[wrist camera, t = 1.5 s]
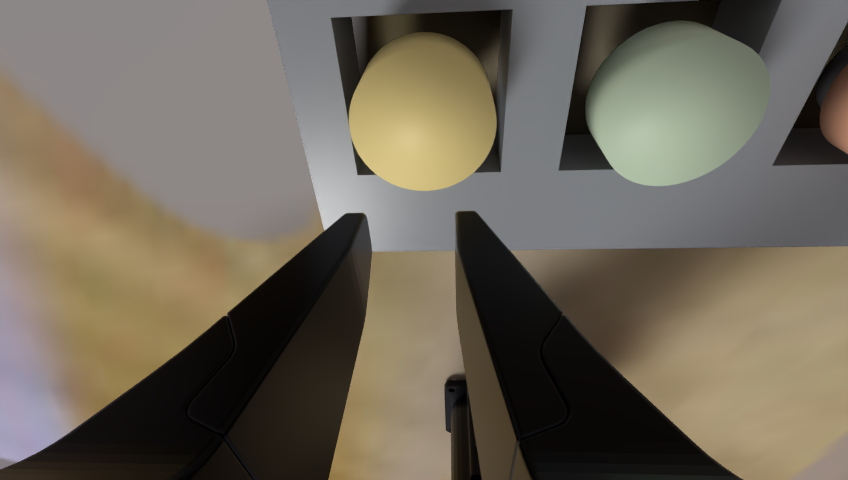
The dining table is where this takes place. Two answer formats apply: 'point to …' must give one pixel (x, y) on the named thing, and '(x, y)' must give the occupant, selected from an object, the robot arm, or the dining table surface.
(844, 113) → the button terracotta
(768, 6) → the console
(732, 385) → the dining table surface
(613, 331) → the dining table surface
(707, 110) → the button sage
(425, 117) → the button mustard
